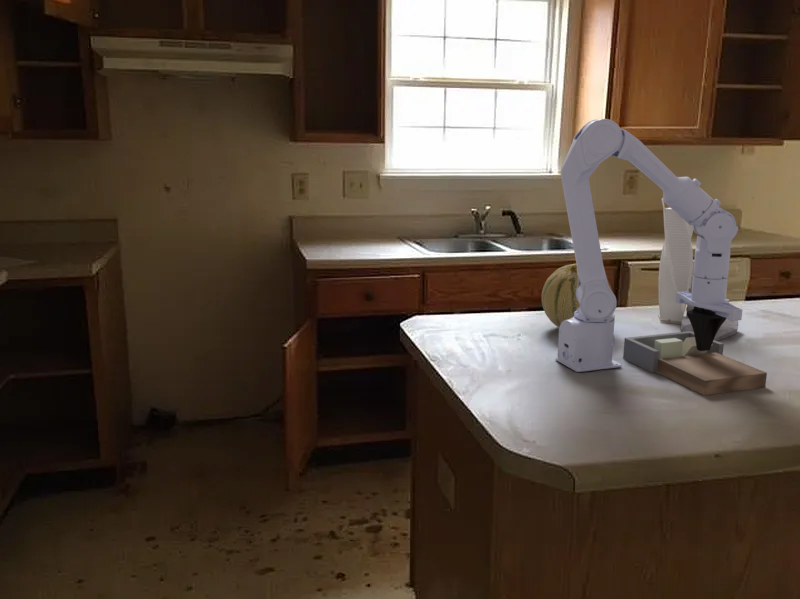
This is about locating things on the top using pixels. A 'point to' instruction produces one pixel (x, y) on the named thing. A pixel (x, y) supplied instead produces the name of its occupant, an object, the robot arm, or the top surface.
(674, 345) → the sage tile
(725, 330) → the stone block
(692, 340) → the cream tile
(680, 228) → the skyscraper
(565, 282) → the cantaloupe
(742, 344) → the top surface
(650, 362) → the box
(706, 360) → the walnut board
